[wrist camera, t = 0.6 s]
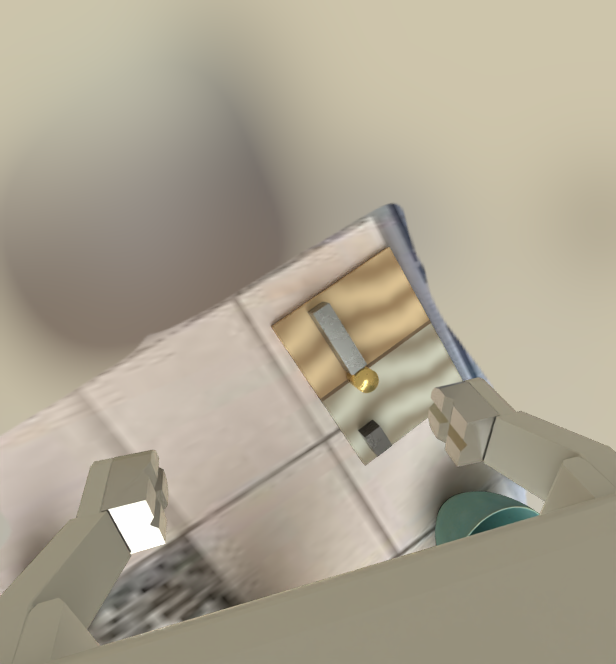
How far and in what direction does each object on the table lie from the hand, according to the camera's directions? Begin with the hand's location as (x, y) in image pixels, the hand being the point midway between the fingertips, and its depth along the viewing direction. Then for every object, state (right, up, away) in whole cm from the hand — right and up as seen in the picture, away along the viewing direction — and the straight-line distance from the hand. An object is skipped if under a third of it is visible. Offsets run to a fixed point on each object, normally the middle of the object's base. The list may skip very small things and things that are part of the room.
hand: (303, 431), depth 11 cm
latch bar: (+5, +1, +49) cm, 49 cm away
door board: (+11, -1, +52) cm, 53 cm away
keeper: (+11, -14, +53) cm, 55 cm away
